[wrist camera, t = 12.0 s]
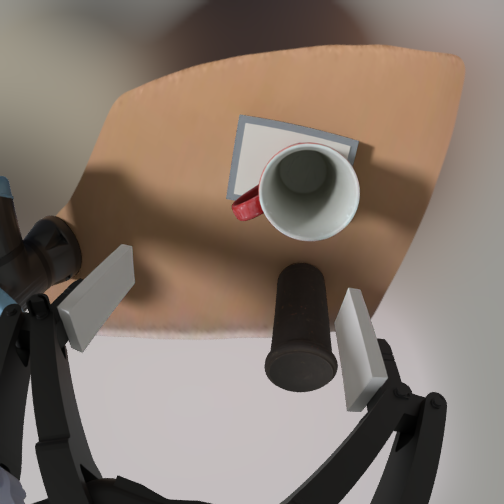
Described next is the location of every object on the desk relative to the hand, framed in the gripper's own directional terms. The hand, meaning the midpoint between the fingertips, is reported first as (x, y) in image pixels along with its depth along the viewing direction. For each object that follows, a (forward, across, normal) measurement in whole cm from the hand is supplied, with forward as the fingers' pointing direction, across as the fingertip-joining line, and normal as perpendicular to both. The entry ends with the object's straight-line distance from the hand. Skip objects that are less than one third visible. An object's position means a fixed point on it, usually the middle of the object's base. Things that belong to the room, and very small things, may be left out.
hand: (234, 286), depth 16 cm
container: (+27, +9, -16) cm, 33 cm away
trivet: (+27, +3, +3) cm, 27 cm away
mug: (+24, +3, +3) cm, 24 cm away
